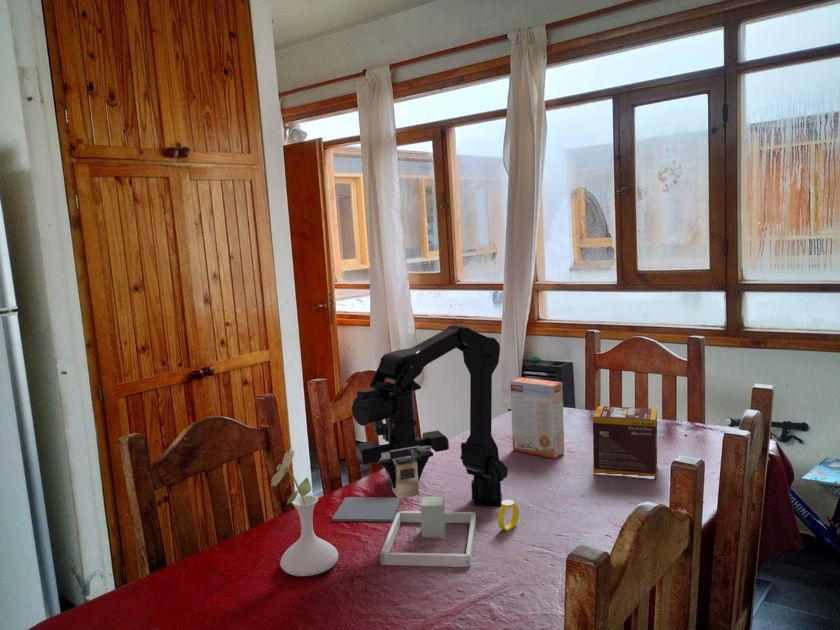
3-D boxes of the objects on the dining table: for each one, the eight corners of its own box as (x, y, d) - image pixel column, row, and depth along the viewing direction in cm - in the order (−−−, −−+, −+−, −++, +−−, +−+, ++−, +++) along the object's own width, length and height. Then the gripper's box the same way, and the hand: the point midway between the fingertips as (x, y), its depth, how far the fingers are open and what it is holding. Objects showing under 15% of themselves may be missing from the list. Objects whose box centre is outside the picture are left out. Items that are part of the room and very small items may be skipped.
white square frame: (476, 521, 144) (475, 512, 143) (470, 566, 124) (469, 556, 124) (398, 520, 146) (397, 511, 146) (380, 564, 127) (379, 554, 127)
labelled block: (412, 487, 139) (410, 455, 138) (419, 495, 135) (417, 462, 134) (392, 491, 138) (390, 458, 137) (398, 499, 133) (396, 465, 133)
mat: (401, 499, 157) (401, 497, 157) (392, 521, 146) (392, 519, 146) (345, 499, 160) (345, 497, 159) (332, 521, 148) (331, 518, 148)
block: (445, 527, 142) (443, 497, 141) (443, 537, 137) (441, 505, 136) (425, 527, 142) (423, 496, 141) (422, 536, 138) (420, 505, 137)
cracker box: (565, 453, 183) (563, 381, 181) (554, 459, 179) (552, 386, 176) (523, 444, 193) (521, 375, 190) (512, 450, 188) (509, 380, 186)
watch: (506, 536, 137) (504, 509, 136) (495, 532, 139) (493, 506, 138) (522, 523, 141) (520, 498, 140) (511, 520, 143) (509, 495, 142)
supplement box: (656, 480, 161) (656, 419, 159) (593, 474, 167) (592, 416, 165) (658, 465, 171) (657, 408, 169) (597, 461, 176) (596, 405, 174)
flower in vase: (306, 548, 136) (297, 432, 132) (350, 559, 130) (342, 439, 127) (262, 578, 124) (251, 453, 121) (308, 592, 119) (297, 461, 115)
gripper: (429, 398, 145) (433, 465, 147) (348, 410, 139) (353, 480, 141) (447, 411, 134) (451, 483, 136) (360, 424, 128) (365, 499, 130)
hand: (405, 485), depth 136 cm, fingers closed on labelled block, 4 cm apart
